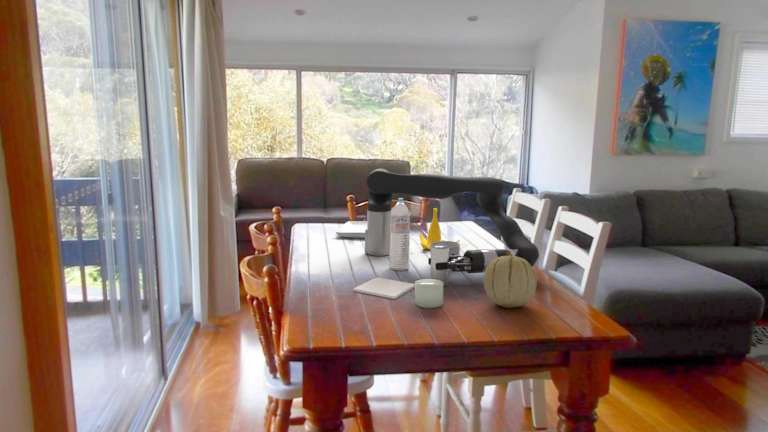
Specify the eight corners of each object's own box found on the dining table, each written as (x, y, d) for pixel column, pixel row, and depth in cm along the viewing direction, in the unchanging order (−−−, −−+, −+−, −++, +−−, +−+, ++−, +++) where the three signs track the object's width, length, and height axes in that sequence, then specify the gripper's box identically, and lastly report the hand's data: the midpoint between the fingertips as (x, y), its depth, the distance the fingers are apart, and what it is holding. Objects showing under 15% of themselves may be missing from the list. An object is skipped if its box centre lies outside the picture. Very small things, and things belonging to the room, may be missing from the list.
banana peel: (420, 252, 205) (422, 211, 203) (419, 242, 224) (420, 204, 221) (462, 253, 205) (463, 212, 202) (456, 242, 224) (458, 205, 221)
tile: (353, 291, 155) (353, 288, 154) (376, 279, 167) (376, 277, 167) (394, 299, 148) (394, 296, 148) (415, 286, 160) (415, 284, 160)
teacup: (458, 269, 180) (459, 247, 179) (427, 267, 183) (428, 245, 181) (460, 260, 194) (461, 239, 193) (431, 258, 196) (432, 237, 195)
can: (427, 284, 163) (428, 247, 160) (434, 280, 167) (435, 243, 165) (443, 287, 160) (445, 249, 158) (450, 282, 165) (451, 245, 163)
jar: (411, 306, 142) (411, 285, 142) (418, 297, 150) (418, 278, 149) (439, 308, 140) (439, 287, 139) (445, 300, 147) (445, 280, 147)
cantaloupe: (502, 318, 134) (505, 263, 132) (471, 301, 148) (474, 250, 145) (546, 311, 140) (551, 258, 138) (513, 295, 154) (516, 246, 151)
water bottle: (411, 267, 183) (413, 197, 178) (405, 272, 176) (407, 200, 172) (393, 265, 185) (394, 196, 181) (386, 269, 178) (388, 199, 174)
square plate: (347, 227, 254) (347, 220, 253) (402, 230, 250) (402, 222, 250) (335, 239, 227) (335, 230, 227) (396, 242, 224) (396, 233, 223)
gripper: (471, 245, 173) (424, 247, 168) (491, 255, 159) (441, 258, 154) (470, 266, 174) (423, 269, 169) (490, 278, 160) (440, 281, 156)
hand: (432, 263), depth 162 cm, fingers closed on can, 5 cm apart
